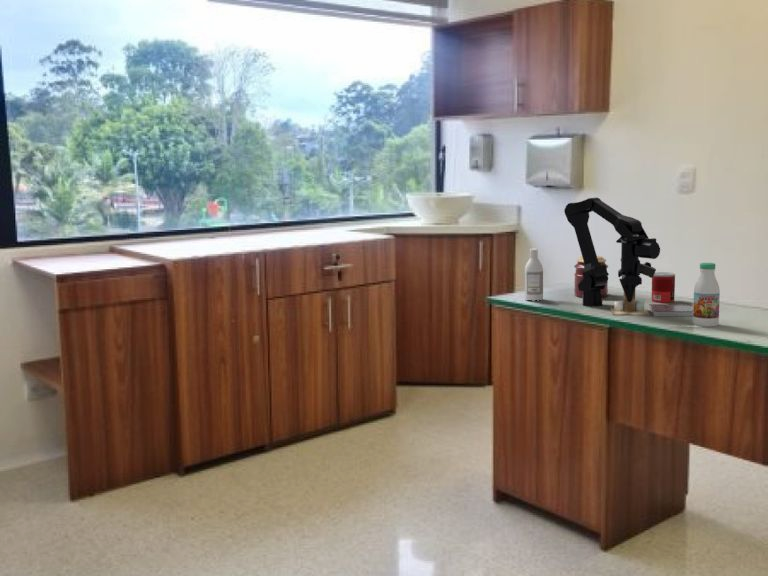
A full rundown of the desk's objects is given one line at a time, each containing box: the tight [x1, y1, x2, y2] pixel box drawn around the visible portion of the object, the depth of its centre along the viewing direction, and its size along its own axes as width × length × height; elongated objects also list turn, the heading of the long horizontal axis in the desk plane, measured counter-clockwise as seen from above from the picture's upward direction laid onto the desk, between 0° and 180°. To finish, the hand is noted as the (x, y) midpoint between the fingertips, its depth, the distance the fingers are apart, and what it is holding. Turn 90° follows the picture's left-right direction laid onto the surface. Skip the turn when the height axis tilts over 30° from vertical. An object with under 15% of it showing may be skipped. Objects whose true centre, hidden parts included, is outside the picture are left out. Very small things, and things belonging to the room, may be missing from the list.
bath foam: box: [524, 248, 544, 302], centre depth 298 cm, size 7×7×20 cm
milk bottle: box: [692, 262, 720, 328], centre depth 246 cm, size 8×8×20 cm
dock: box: [648, 303, 693, 317], centre depth 265 cm, size 13×13×2 cm
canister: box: [573, 255, 609, 298], centre depth 303 cm, size 13×13×18 cm
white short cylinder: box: [613, 300, 624, 311], centre depth 269 cm, size 3×3×3 cm
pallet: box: [609, 289, 650, 316], centre depth 268 cm, size 12×12×10 cm
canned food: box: [651, 271, 676, 304], centre depth 284 cm, size 8×8×11 cm
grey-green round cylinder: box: [635, 300, 645, 311], centre depth 267 cm, size 3×3×3 cm
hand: (629, 300), depth 268 cm, fingers closed on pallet, 3 cm apart
